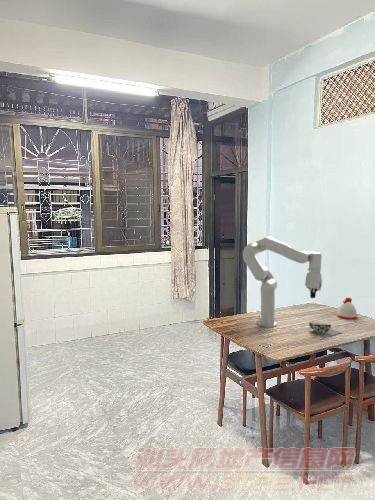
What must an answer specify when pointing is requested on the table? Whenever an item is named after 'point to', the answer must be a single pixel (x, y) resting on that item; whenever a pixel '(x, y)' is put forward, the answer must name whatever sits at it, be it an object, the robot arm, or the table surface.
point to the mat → (328, 333)
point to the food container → (320, 327)
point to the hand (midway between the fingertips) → (312, 297)
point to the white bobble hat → (347, 310)
